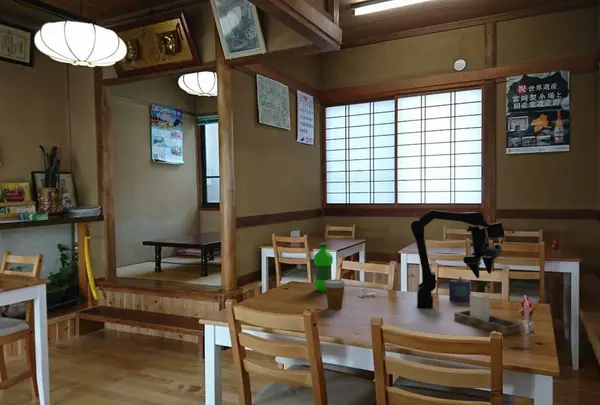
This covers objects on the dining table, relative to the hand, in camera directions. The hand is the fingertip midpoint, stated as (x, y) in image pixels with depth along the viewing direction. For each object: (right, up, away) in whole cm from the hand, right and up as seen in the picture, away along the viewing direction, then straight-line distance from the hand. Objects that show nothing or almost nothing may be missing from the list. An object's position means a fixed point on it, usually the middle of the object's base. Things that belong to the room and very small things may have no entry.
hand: (483, 275), depth 195 cm
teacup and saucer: (-47, -16, +25) cm, 55 cm away
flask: (-5, -15, +15) cm, 21 cm away
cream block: (-10, -14, -20) cm, 27 cm away
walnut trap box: (-9, -16, -23) cm, 29 cm away
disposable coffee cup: (-65, -16, +7) cm, 67 cm away
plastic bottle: (-68, -15, +41) cm, 81 cm away
